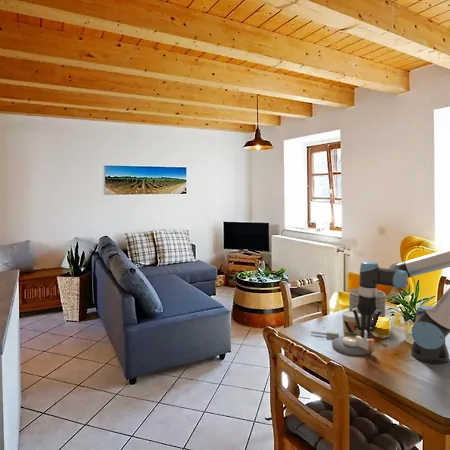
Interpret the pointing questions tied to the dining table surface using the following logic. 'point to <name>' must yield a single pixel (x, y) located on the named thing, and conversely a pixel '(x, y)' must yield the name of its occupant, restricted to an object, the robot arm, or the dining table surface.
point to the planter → (379, 302)
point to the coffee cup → (350, 324)
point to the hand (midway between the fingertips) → (364, 344)
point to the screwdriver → (328, 334)
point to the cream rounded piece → (358, 342)
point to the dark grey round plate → (348, 348)
